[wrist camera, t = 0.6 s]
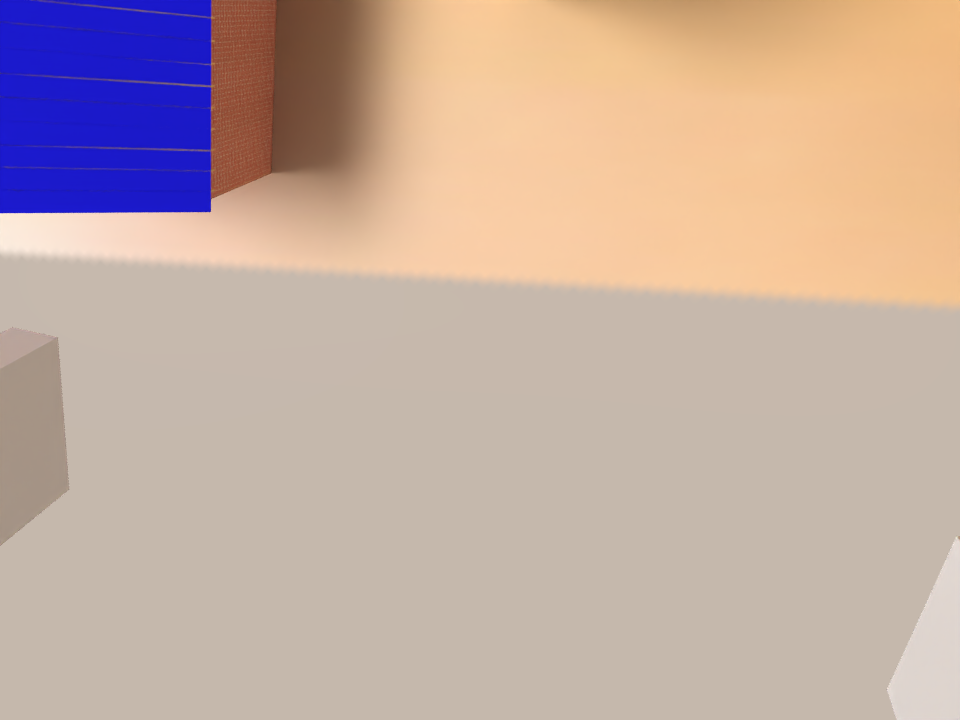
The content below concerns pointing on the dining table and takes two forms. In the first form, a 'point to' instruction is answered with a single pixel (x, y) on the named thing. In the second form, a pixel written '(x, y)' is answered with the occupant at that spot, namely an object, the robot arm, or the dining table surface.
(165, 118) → the blue roofed brick block
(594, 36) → the dining table surface
